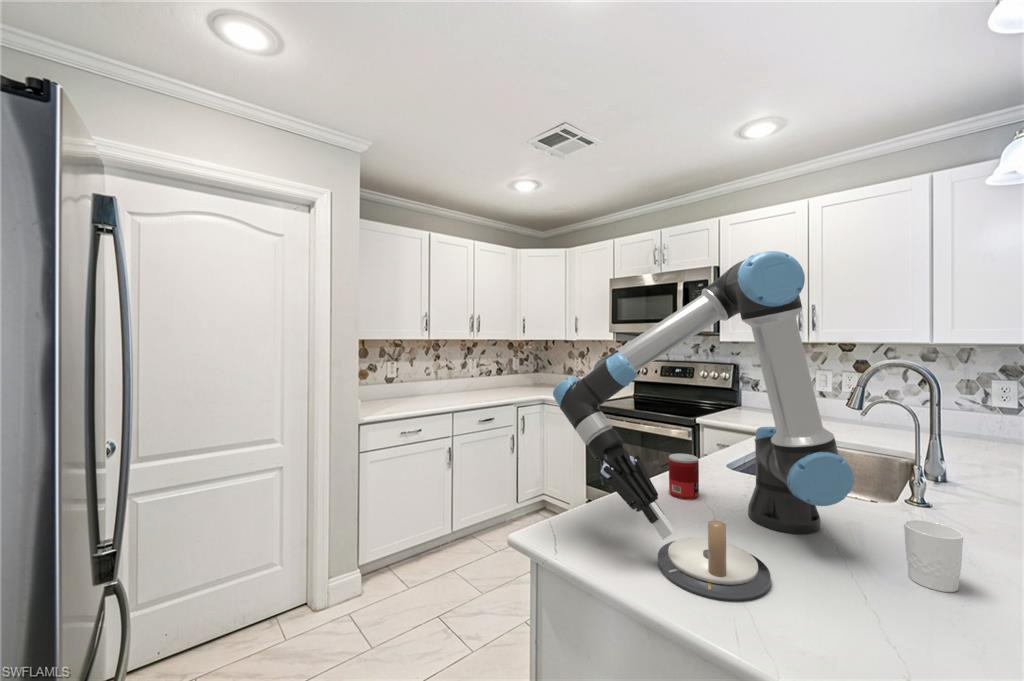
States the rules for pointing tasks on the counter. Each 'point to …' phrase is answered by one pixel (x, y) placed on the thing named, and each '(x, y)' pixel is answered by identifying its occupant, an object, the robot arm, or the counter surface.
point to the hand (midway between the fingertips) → (669, 535)
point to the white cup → (933, 554)
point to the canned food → (684, 476)
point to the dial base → (713, 590)
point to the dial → (713, 558)
